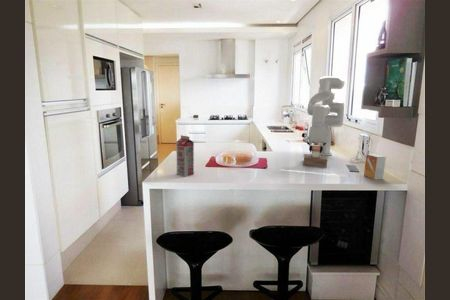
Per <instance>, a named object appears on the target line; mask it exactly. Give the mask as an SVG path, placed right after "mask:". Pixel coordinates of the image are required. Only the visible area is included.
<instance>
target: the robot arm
mask: <svg viewBox="0 0 450 300" xmlns="http://www.w3.org/2000/svg"><path fill="white" fill-rule="evenodd" d="M318 83H319V87H318V92H317V93H315V94H314V95H313V96H312V97H311V98H310V99H309V101H308V105H307V110H306V111H307V113H306V114H307V115H308V116H312V119H311V125H310V126H309V132H308V136H307V137H306V138H305V139H304V142H305V143H306V144H307V145H308V146H309V147H308V149H309V150H308V151H309V153H312V145H313V143H318V144H317V145H318V146H321V147H320V151H319V155H325V156H326V157H327V156H332V155H333V153H332V152H331V145H332V135H333V132H332V130H331V129H330V128H341V127H342V126H343V124H344V112H345V103H344V101H343V100H341V99H339V100H338V99H335V96H336V95H335V94H336V93H335V91H334V90H341V89H343V88H344V86H345V77H344V76H323V77H319V82H318ZM320 102H321V104H317V103H320ZM331 113H333V114H331Z"/></svg>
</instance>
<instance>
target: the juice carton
mask: <svg viewBox="0 0 450 300" xmlns="http://www.w3.org/2000/svg"><path fill="white" fill-rule="evenodd" d="M175 144H176V175H177V176H180V177H183V178H187V177H190V176H193V175H194V172H195V171H194V168H195V167H194V164H195V161H194V159H195V157H194V155H195V153H194V151H195V150H194V146H195V142H194V141H193V140H191V139H190V136H187V135H180V138H179V139H178V140H177V141H176V143H175Z"/></svg>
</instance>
